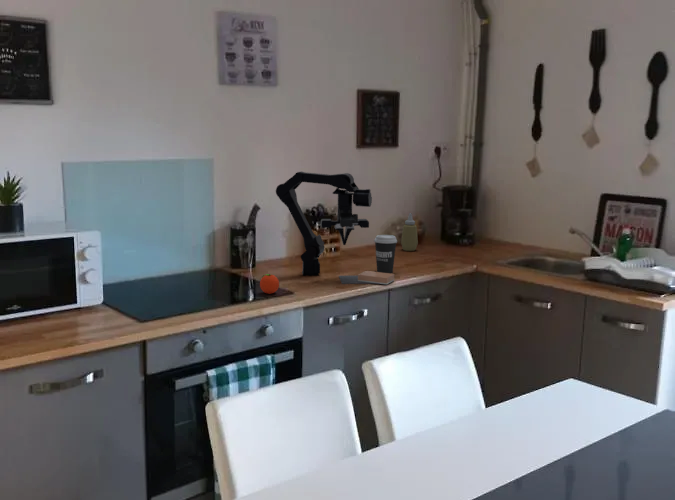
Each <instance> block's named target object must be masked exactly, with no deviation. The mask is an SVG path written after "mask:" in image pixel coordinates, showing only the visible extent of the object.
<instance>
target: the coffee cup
mask: <svg viewBox="0 0 675 500" xmlns="http://www.w3.org/2000/svg"><path fill="white" fill-rule="evenodd" d="M397 239H398V238H397V237H396V236H395V235H392V234H378V235H376V236H375V238H374V240H373V242H374V244H375V261H376V262H375V264H376V272H382V273H391V274H394V264H395V255H396V245H397V243H398V240H397Z"/></svg>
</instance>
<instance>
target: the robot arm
mask: <svg viewBox="0 0 675 500" xmlns="http://www.w3.org/2000/svg"><path fill="white" fill-rule="evenodd" d="M302 183H309V184H311V183H312V184H319V185H329V186H331V187H334V188H336V189H335V190H334V191H332V194H333V195H337V220H332V219H331V218H321V220H320V228H322V229H329V228H330V229H331V227H332V226H333V227H334V229H335V230H336V231H338V232H339V236H340V239H341V242H342V246H346V245H347V242H348V239H349V236H350V233H351V232H352V231H354V230H355V226H359V227H360V228H361V229H363V228H365V229H366V228H367V229H368V228H370V221H369V220H368V219H367V218H359V215H358V213H353V205H354V206H355V207H364V208H370V207H371V206H372V204H373V203H372V202H373V198H372V192H371V191H372V189H370V188H368V189H367V188H366V189H363V188H362V189H360V188H359V187H358V186H357V184H356V182H355V178H354V177H353V175H352V174H351V173H348V172H346V173H336V174H327V173H326V174H325V173H317V172H316V173H315V172H306V171H297V172H295V173H294V174H293V176H292V177H290V178H289V179H287V180H286V181H285V182H283V183H281V184H279V185H277V187H276V188H275V194H276V196H277V197H278V199H279V200H280V201H281V202H282V203H283V204H284V205H285V207H287V209H288V211H289V213H290V215H291V216H292V219H293V220H294V222H295V225H296V226H297V228H298V231H299V232H300V234H301V236H302V238H303V246H304V248H305V251H304V252H303V253H302V254H301V255H300V258H301V261H302V273H301V274H302V276H305V277H306V276H310V277H311V276H314V277H317V276H320V274H321V263H320V262H319V258H320V257H321V254H323V253H324V251H325V245H324V244H325V241H324V240H323V239H322V237H321V234H318V235H316V234H315V233H314V231H313V229H312V228H311V225H310V224H309V222H308V220H307V218H306V216H305V213H304V212H303V209H302V208H301V206H300V204H299V202H298V197H297V192H296V189H298V187H299V186H300V185H301V184H302ZM344 228H345V230H344Z"/></svg>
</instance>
